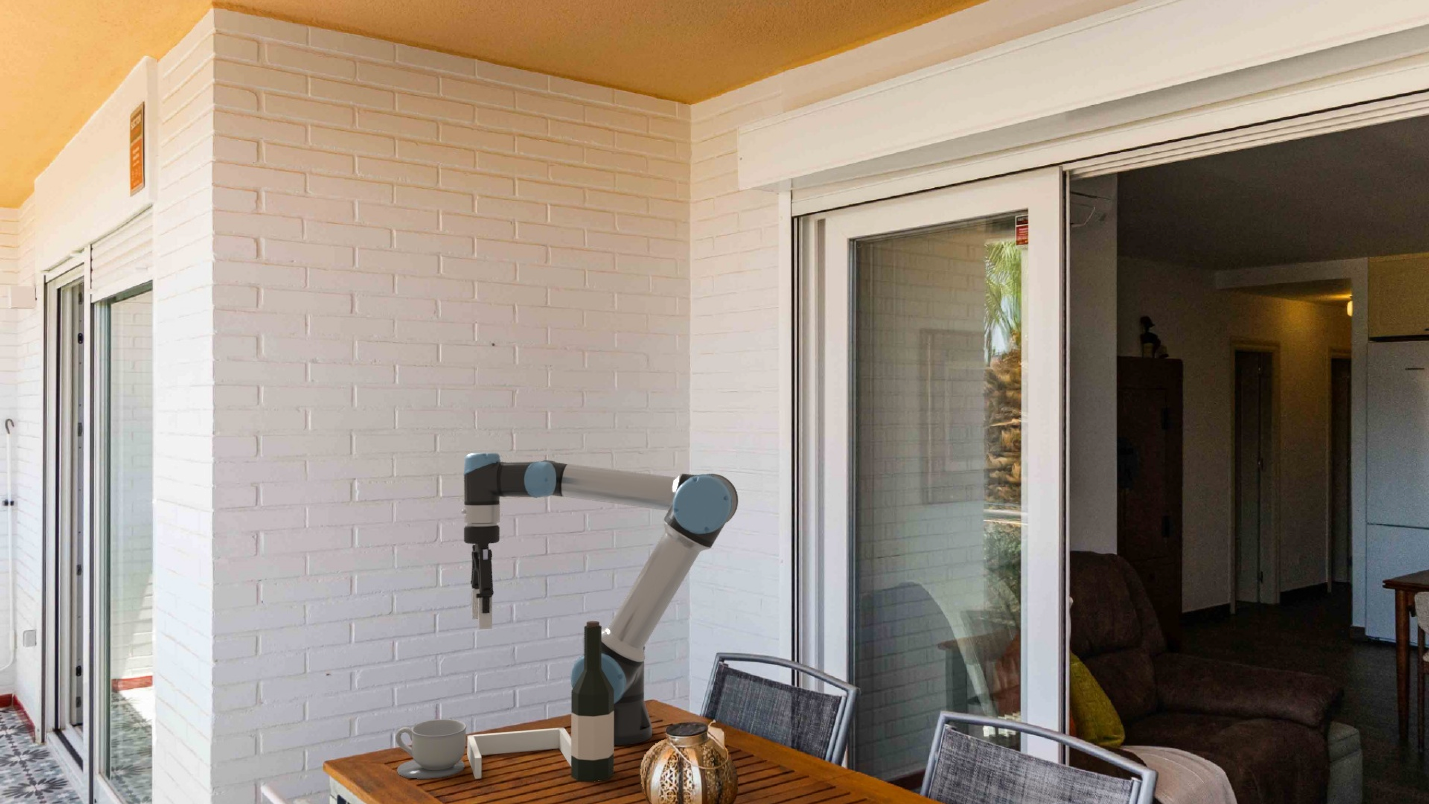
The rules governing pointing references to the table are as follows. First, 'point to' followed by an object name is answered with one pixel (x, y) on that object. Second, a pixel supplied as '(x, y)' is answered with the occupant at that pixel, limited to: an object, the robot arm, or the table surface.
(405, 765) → the grey flat disc
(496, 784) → the table surface
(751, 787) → the table surface
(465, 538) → the robot arm
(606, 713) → the wine bottle
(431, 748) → the teacup
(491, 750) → the white u-shaped frame
